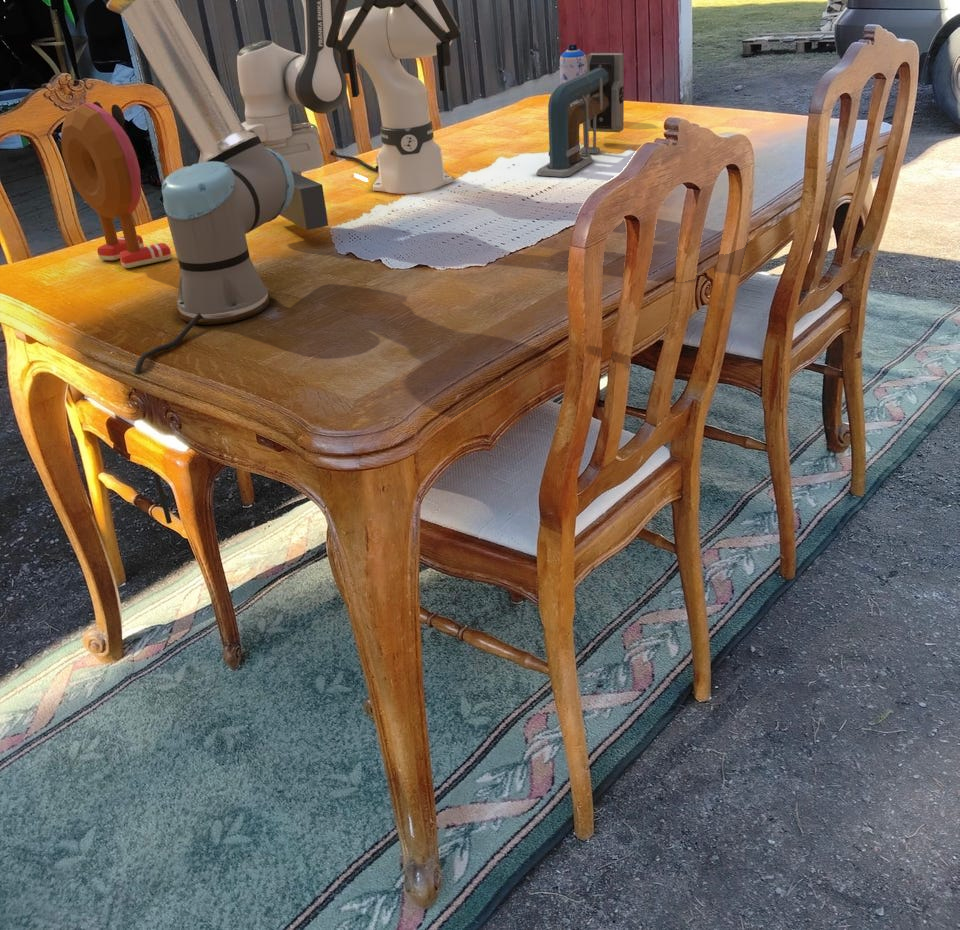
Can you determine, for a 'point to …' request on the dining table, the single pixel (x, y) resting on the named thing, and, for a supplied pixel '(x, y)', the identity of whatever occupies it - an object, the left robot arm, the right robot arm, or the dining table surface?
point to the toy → (108, 179)
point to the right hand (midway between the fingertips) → (281, 196)
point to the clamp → (584, 113)
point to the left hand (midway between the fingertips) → (399, 92)
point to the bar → (306, 204)
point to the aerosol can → (572, 66)
